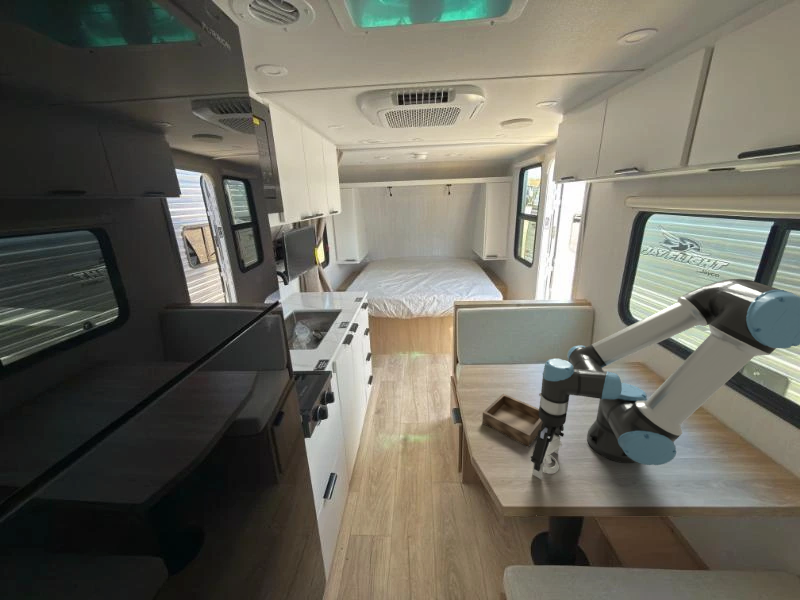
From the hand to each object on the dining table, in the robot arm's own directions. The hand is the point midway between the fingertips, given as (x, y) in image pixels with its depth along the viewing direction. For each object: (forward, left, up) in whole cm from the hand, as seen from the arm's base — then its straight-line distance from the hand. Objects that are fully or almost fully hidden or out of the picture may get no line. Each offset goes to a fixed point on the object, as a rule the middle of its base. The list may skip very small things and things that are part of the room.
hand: (545, 463), depth 99 cm
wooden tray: (+16, -11, 0) cm, 19 cm away
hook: (0, 0, 0) cm, 0 cm away
